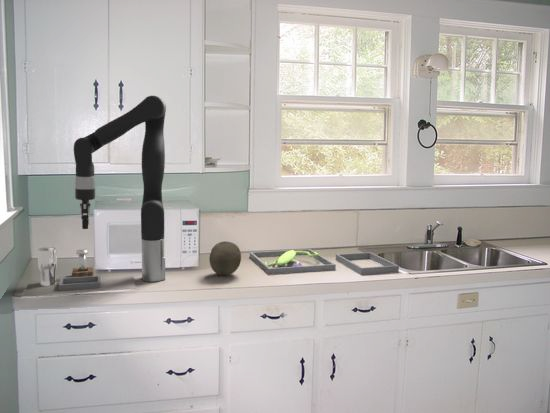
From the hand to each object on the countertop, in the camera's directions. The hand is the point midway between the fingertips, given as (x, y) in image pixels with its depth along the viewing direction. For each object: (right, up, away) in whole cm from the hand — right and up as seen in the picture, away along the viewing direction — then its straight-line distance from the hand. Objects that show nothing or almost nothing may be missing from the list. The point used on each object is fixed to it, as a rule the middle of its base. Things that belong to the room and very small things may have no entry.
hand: (85, 227), depth 213 cm
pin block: (-2, -22, +4) cm, 22 cm away
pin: (-2, -21, +4) cm, 21 cm away
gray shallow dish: (+120, -20, +34) cm, 126 cm away
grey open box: (+85, -19, +37) cm, 94 cm away
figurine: (+85, -19, +37) cm, 95 cm away
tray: (+1, -24, -7) cm, 25 cm away
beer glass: (-13, -23, -6) cm, 27 cm away
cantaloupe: (+56, -22, +13) cm, 61 cm away
